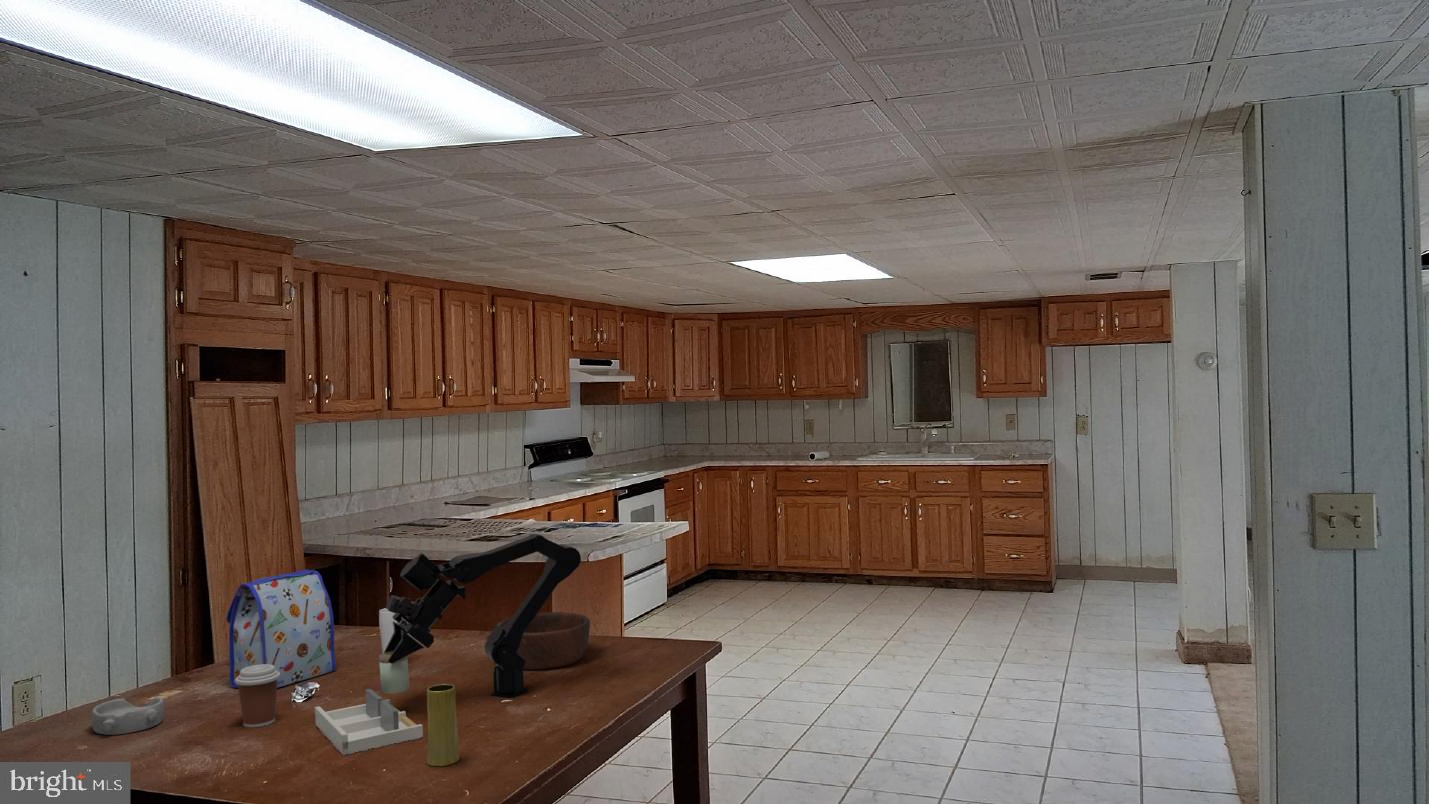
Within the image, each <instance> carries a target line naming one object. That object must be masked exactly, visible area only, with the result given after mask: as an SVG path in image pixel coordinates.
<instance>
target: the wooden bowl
mask: <svg viewBox="0 0 1429 804" xmlns="http://www.w3.org/2000/svg"><path fill="white" fill-rule="evenodd" d="M510 619H511V617H509V618H505V619H502V620H501V621H499V622H498V623H496V625H498V626H500V627H502V626H504V625H505V624H506V623H507V622H508V621H509V620H510ZM590 629H591V620H590V618H589V617H588V616H586V615H584V614H580V613H574V612H563V611H562V612H561V611H560V612H559V611H550V612H538V613H537V615H536V616H535V617H534V619H533V620H532V622H531V623H530V624H529V626H528V627H527V629H526V630H525V632H524V633H523V636H522V640H521V643H520V647H519V649H518V651H517V654H518V655H519V656H521V657H522V658H523V659H524V660H525V665H524V668H523V670H527V671H529V670H531V671H532V670H533V671H534V670H536V671H537V670H539V671H540V670H549V669H550V670H551V669H556V668H557V669H558V668H562V667H566V666H570V665H572V664H575V663H577V662H579V661H580V660H581V659H582V657H583V656H584V654H585V652H586V650H587V648H588V647H587V646H588V644H589V640H590V639H589V637H590Z"/></svg>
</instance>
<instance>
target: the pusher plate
mask: <svg viewBox="0 0 1429 804" xmlns="http://www.w3.org/2000/svg"><path fill="white" fill-rule="evenodd" d="M382 700H383V697H382V696H380V695H379V694H377V693H376V692H375V691H374V690H373V689H371V688H368V689H367V688H365V704H366V714H367V715H368V716H370V717H371V718H374V717H379V716H381V713H380V701H382Z"/></svg>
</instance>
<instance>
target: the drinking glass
mask: <svg viewBox="0 0 1429 804" xmlns="http://www.w3.org/2000/svg"><path fill="white" fill-rule="evenodd" d="M394 614H395V613H393V612H390V611H388V609H386V607H385V608H382V609H379V612H378V616H379V617H378V622H379V624H378V625H379V626H378V627H379V632H380V633H379V635H380V642H381V650H382V654H383V653H384V651H385V649H386V647H387V645H388V643H389V641H390V639H391V637H392V635H393V633H394V626H393V621H394V622H395V623H397V622H398V621H396V620H394V619H393V618H392V617H393V616H394Z"/></svg>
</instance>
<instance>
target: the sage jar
mask: <svg viewBox="0 0 1429 804" xmlns="http://www.w3.org/2000/svg"><path fill="white" fill-rule="evenodd" d="M393 652H394V651H390V652H386V653H383V652H382V653H381V654H379V656H378V660H379V662H378V663H379V679H380V682H379V683H380V692H381V694H385V695H392V694H400V693H403V692H406V691H407V690H409V688H410V683H409V664H408V663H409V661H408V655H407V656H406V657H404V658H402V659H400V660H398V661H396V662H394V663H393V664H391V663H390V662H388V660H389V658H390V656H391V655H392V653H393Z"/></svg>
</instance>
